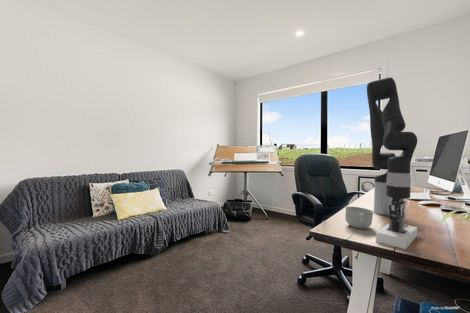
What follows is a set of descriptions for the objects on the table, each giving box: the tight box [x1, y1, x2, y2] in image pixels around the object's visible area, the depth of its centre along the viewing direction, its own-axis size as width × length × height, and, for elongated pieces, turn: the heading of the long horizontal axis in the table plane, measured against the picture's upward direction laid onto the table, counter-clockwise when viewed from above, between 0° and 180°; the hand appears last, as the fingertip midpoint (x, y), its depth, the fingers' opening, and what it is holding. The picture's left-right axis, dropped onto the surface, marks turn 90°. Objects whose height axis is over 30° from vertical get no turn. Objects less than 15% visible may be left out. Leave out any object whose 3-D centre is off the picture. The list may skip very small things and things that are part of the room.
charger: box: [388, 212, 406, 234], centre depth 89 cm, size 4×4×11 cm
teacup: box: [344, 206, 374, 230], centre depth 103 cm, size 14×11×8 cm
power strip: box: [375, 223, 418, 250], centre depth 90 cm, size 20×9×4 cm, turn 133°
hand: (396, 229), depth 89 cm, fingers open, 4 cm apart
